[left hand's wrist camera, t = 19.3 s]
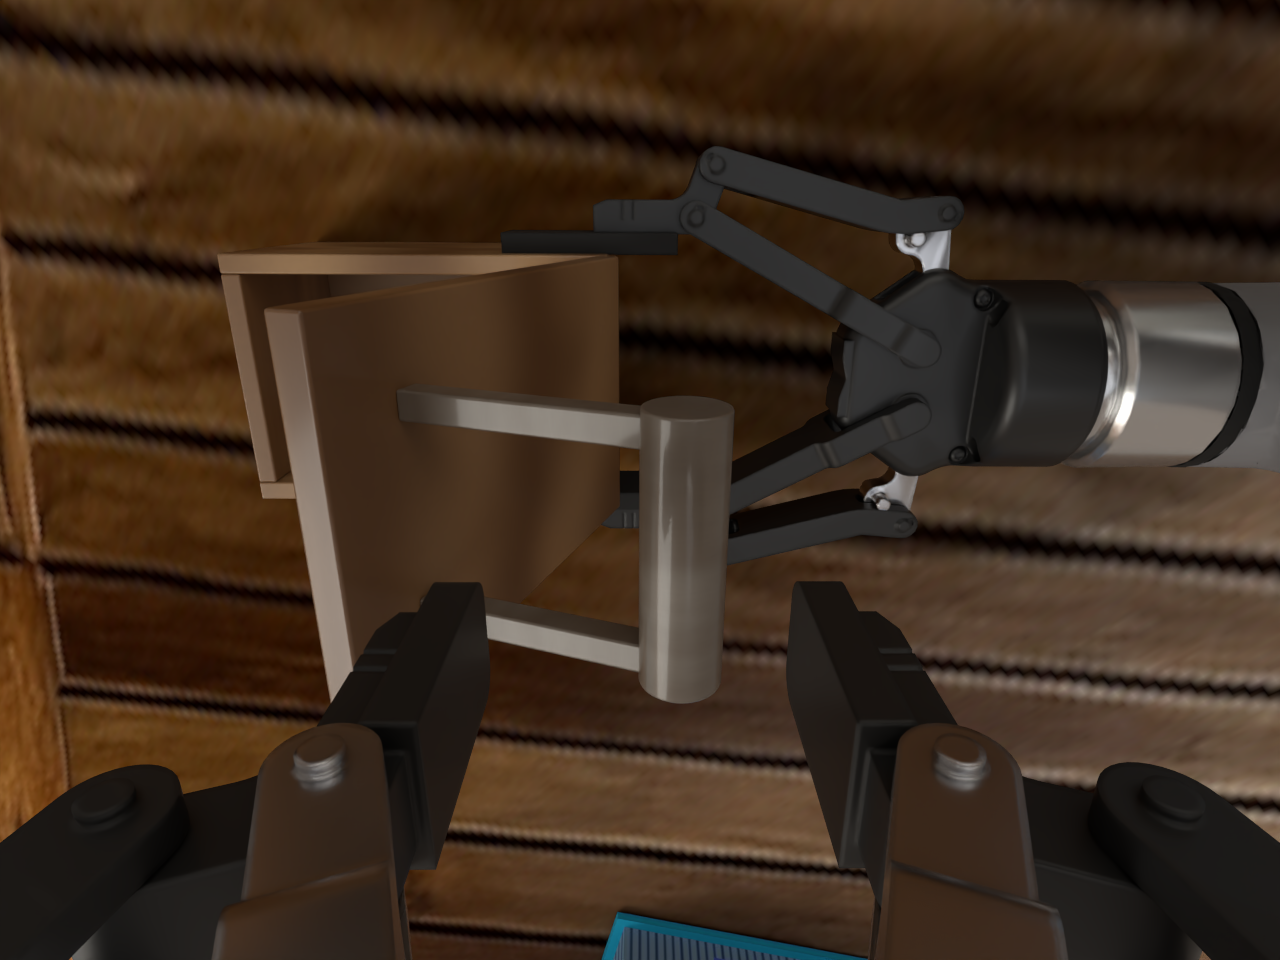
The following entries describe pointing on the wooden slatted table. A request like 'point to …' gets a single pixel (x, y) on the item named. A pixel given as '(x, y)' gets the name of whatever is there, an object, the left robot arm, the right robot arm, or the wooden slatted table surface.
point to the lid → (498, 466)
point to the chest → (328, 274)
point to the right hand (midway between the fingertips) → (514, 372)
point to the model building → (697, 943)
